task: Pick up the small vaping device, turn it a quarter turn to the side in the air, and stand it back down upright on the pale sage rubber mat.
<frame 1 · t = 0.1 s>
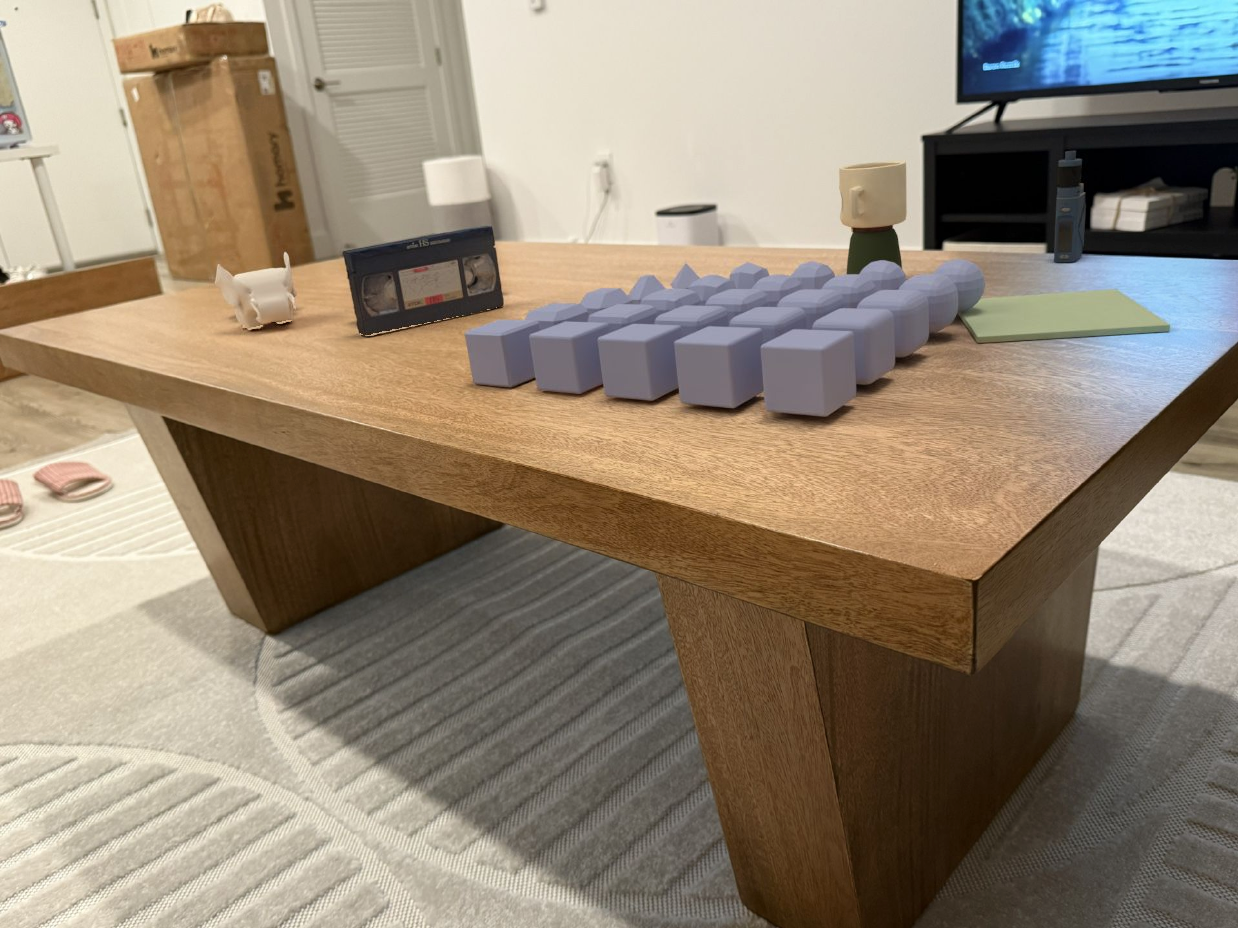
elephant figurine: (270, 328, 128), on the table
character mug: (874, 285, 112), on the table
vhs cassette tape: (434, 322, 119), on the table
blocks: (737, 347, 91), on the table, touching mat
mat: (1050, 317, 89), on the table
vaping device: (1067, 260, 113), on the table
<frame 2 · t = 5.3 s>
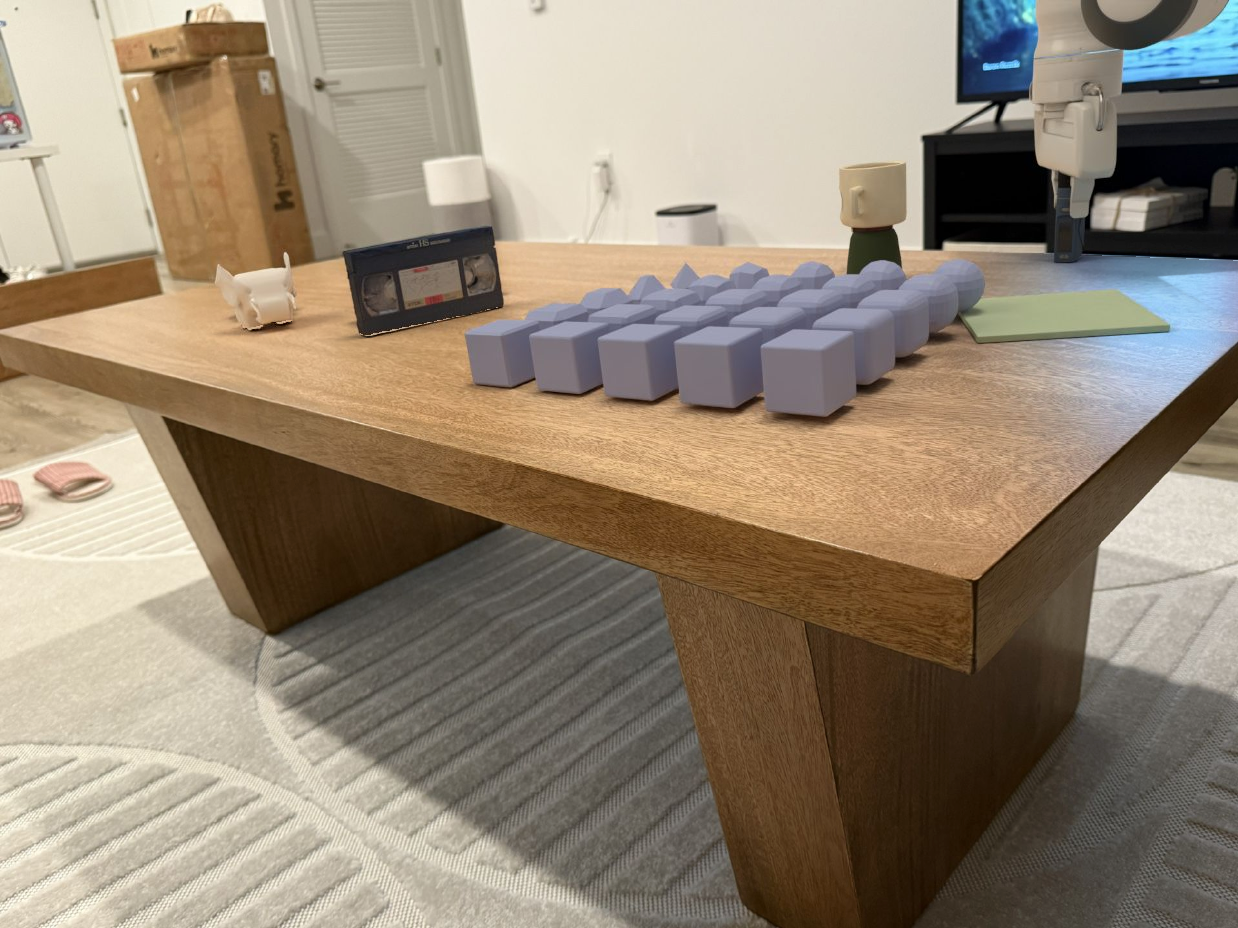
hand: (1070, 213, 111), 5 cm above the table, tool pointing down, fingers closed on vaping device, 5 cm apart
vaping device: (1067, 260, 113), on the table, touching gripper
everything else where it was.
when the fingers open (6 cm above the table, at t = 14.2 s): vaping device stays where it is, resting on mat.
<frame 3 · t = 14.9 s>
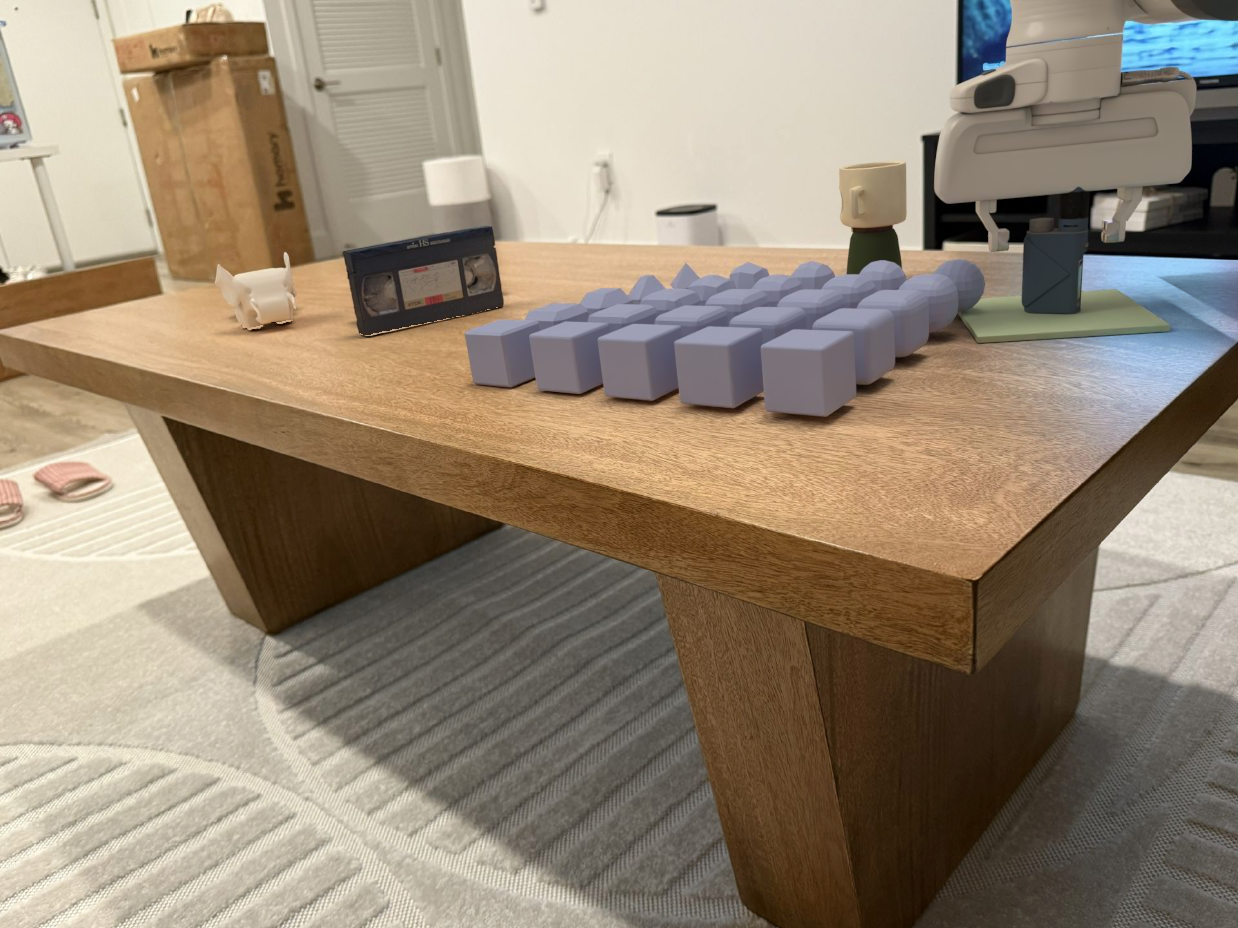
hand: (1054, 246, 87), 6 cm above the table, tool pointing down, fingers open, 8 cm apart
vaping device: (1052, 313, 89), resting on mat
everything else where it was.
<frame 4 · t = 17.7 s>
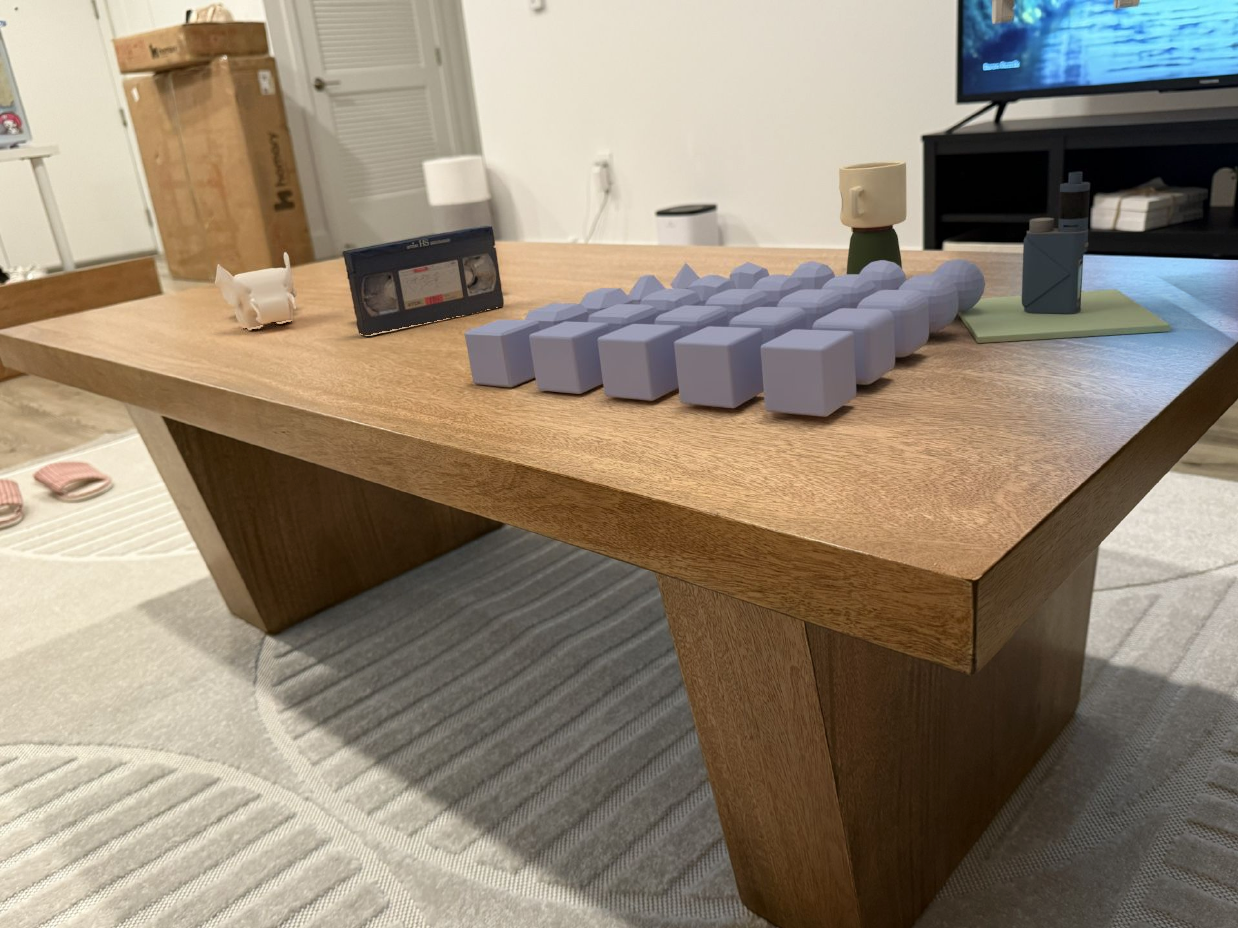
hand: (1063, 15, 80), 25 cm above the table, tool pointing down, fingers open, 8 cm apart
nothing on the table moved.
at the end: vaping device inside the target area on the mat (0.1 cm from its centre), point 0.4 cm above the mat's base; vaping device tilted 0°; the gripper is holding nothing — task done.
